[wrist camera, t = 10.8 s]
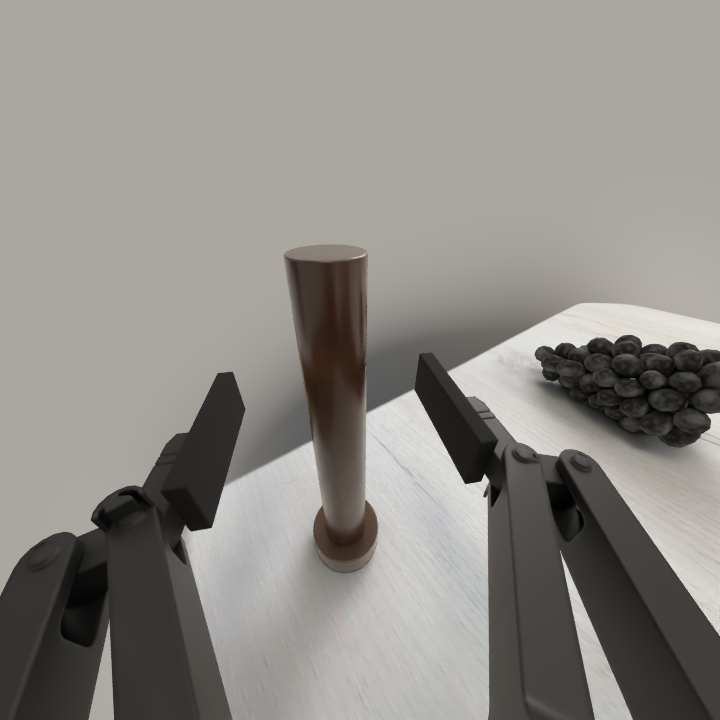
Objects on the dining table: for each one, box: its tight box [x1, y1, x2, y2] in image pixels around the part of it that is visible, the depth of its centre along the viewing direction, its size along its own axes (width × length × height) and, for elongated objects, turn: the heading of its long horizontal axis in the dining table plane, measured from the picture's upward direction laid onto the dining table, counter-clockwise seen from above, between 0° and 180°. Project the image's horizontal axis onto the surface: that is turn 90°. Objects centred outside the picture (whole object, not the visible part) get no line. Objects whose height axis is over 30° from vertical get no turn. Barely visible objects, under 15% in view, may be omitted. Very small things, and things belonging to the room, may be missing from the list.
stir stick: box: [284, 245, 378, 573], centre depth 12 cm, size 4×4×18 cm
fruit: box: [535, 335, 720, 448], centre depth 25 cm, size 9×8×15 cm
